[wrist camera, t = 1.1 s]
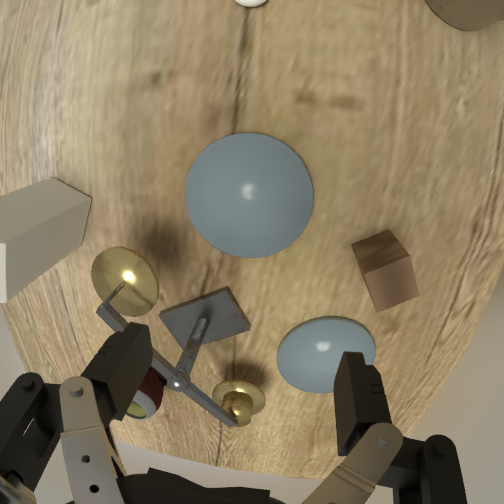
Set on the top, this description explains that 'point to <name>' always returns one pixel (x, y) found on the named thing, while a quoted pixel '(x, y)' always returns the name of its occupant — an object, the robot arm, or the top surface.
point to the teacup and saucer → (250, 2)
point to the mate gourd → (147, 396)
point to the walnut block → (386, 270)
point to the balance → (177, 329)
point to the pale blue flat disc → (249, 195)
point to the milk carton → (38, 231)
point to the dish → (321, 351)
